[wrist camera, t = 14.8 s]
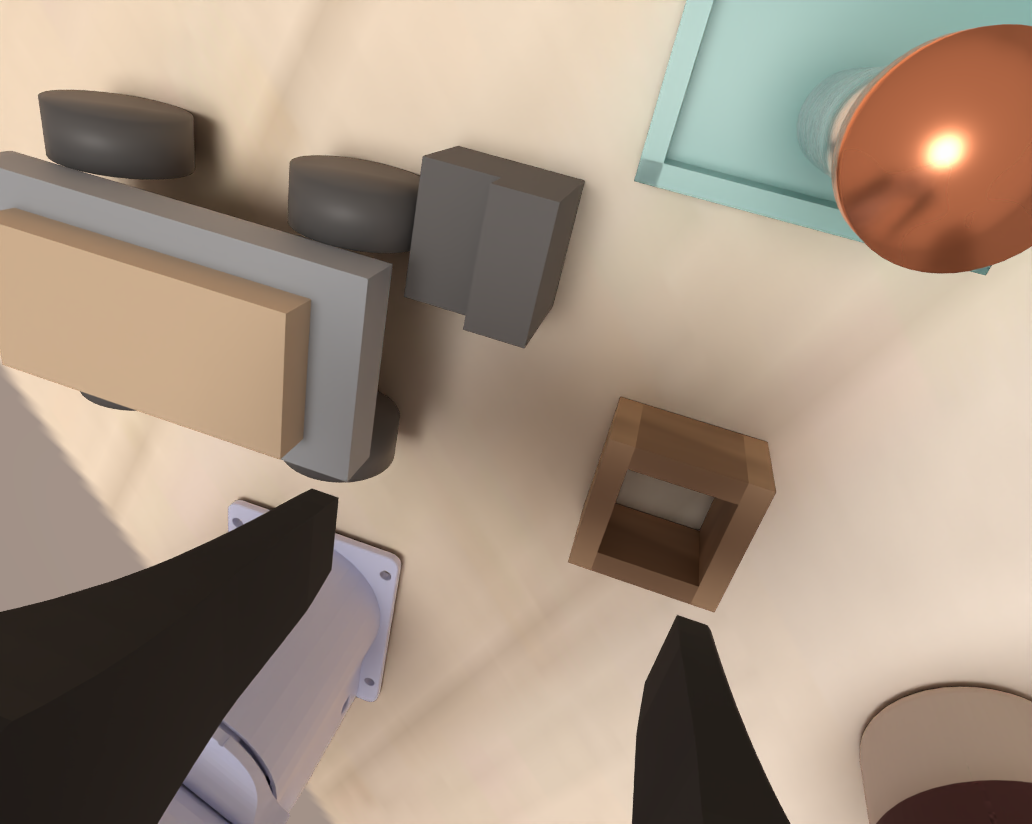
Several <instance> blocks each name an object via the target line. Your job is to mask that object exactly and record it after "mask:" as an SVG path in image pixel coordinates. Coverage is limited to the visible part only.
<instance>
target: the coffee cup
mask: <svg viewBox="0 0 1032 824" xmlns="http://www.w3.org/2000/svg"><path fill="white" fill-rule="evenodd" d="M859 755H860V765H861V772H862V779H863V785H864V792H865V799H866V805H867V812H868V819H869V824H1032V701H1029V700H1027V699H1025V698H1022V697H1019V696H1016V695H1013V694H1010V693H1006V692H1002V691H997V690H993V689H986V688H978V687H943V688H937V689H931V690H925V691H922V692H918V693H915V694H912V695H909V696H907V697H904V698H901V699H899V700H897V701H896V702H894V703H892V704H890V705H889V706H887V707H885V708H884V709H883V710H882V711H881V712H879V713H878V714H877V715H876V716H875V717H874V718H873V719H872V720H871V722H870V723H869V724H868V726H867V727H866V729H865V731H864V734H863V736H862V739H861V744H860V753H859Z"/></svg>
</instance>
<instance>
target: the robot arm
mask: <svg viewBox="0 0 1032 824" xmlns="http://www.w3.org/2000/svg"><path fill="white" fill-rule="evenodd" d="M337 508H338V497H335V496H332V495H329V494H326V493H323V492H320V491H317V490H315V489H310V490H308V491H306V492H304V493H302V494H300V495H298V496H296V497H294V498H293V499H291V500H289V501H287V502H285V503H283V504H281V505H279V506H278V507H276V508H274V509H272V510H268V509H265V508H263V507H260V506H257V505H254V504H251V503H248V502H246V501H243V500H235V501H234V502H233V503H232V504H231V505H230V506H229V508H228V533H226V534H224V535H222V536H220V537H218V538H216V539H213V540H211V541H209V542H207V543H205V544H203V545H200V546H198V547H196V548H194V549H192V550H189V551H187V552H185V553H183V554H181V555H178V556H176V557H174V558H172V559H169V560H167V561H165V562H162V563H160V564H157V565H155V566H152V567H149V568H147V569H144V570H141V571H139V572H136V573H133V574H131V575H128V576H125V577H122V578H120V579H117V580H114V581H111V582H108V583H104V584H101V585H98V586H94V587H91V588H88V589H85V590H82V591H79V592H75V593H72V594H68V595H65V596H61V597H58V598H55V599H51V600H47V601H44V602H40V603H36V604H32V605H28V606H24V607H20V608H16V609H11V610H7V611H3V612H0V824H286V823H287V821H288V819H289V817H290V815H289V813H288V812H289V811H290V810H291V808H292V807H293V806H294V804H295V803H296V801H297V800H298V798H299V796H300V795H301V793H302V791H303V790H304V788H305V786H306V784H307V782H308V781H309V779H310V777H311V775H312V774H313V772H314V770H315V768H316V766H317V765H318V763H319V761H320V759H321V758H322V756H323V754H324V752H325V750H326V749H327V747H328V745H329V743H330V741H331V740H332V738H333V736H334V734H335V733H336V731H337V729H338V727H339V725H340V724H341V722H342V720H343V718H344V717H345V715H346V713H347V711H348V709H349V708H350V706H351V704H352V702H353V701H354V699H355V697H358V698H360V699H363V700H365V701H369V702H372V701H375V700H376V699H377V698H378V696H379V694H380V690H381V684H382V678H383V672H384V666H385V660H386V654H387V648H388V642H389V636H390V630H391V624H392V618H393V612H394V606H395V600H396V594H397V588H398V582H399V576H400V570H401V561H400V559H399V558H398V557H397V556H396V555H394V554H393V553H390V552H387V551H384V550H382V549H379V548H376V547H373V546H370V545H367V544H365V543H362V542H359V541H356V540H353V539H350V538H348V537H345V536H342V535H339V534H336V533H335V529H336V519H337ZM240 520H241V521H240ZM385 571H387V572H389V573H390V574H388V573H386V572H385ZM632 824H790V822H789V820H788V818H787V816H786V815H785V813H784V811H783V809H782V807H781V805H780V803H779V801H778V799H777V797H776V795H775V793H774V791H773V789H772V787H771V785H770V783H769V780H768V778H767V776H766V774H765V772H764V770H763V767H762V765H761V763H760V761H759V759H758V757H757V754H756V752H755V750H754V747H753V745H752V743H751V740H750V738H749V736H748V733H747V731H746V728H745V726H744V723H743V721H742V718H741V716H740V713H739V711H738V708H737V706H736V703H735V700H734V698H733V695H732V692H731V690H730V687H729V684H728V681H727V678H726V676H725V673H724V670H723V667H722V664H721V661H720V658H719V655H718V652H717V649H716V646H715V642H714V639H713V636H712V633H711V630H710V628H709V627H708V625H705V624H702V623H699V622H696V621H693V620H690V619H688V618H685V617H682V616H679V615H677V616H676V618H675V620H674V623H673V625H672V627H671V629H670V631H669V633H668V635H667V637H666V639H665V642H664V644H663V646H662V648H661V650H660V652H659V654H658V656H657V658H656V661H655V663H654V665H653V667H652V669H651V671H650V673H649V675H648V677H647V680H646V682H645V685H644V691H643V697H642V703H641V709H640V715H639V721H638V727H637V735H636V753H635V772H634V793H633V815H632Z"/></svg>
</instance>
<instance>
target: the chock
mask: <svg viewBox="0 0 1032 824" xmlns="http://www.w3.org/2000/svg"><path fill="white" fill-rule="evenodd" d="M584 182H585V180H581V179H577V178H574V177H570V176H566V175H563V174H559V173H555V172H552V171H548V170H544V169H541V168H537V167H533V166H530V165H526V164H522V163H518V162H515V161H511V160H507V159H504V158H500V157H496V156H493V155H489V154H485V153H482V152H478V151H474V150H471V149H467V148H463V147H460V146H457V147H453V148H449V149H446V150H442V151H439V152H435V153H432V154H428V155H425V156H423V159H422V166H421V174H420V181H419V189H418V196H417V203H416V211H415V218H414V226H413V233H412V241H411V248H410V256H409V263H408V271H407V278H406V286H405V293H404V297H407V298H410V299H413V300H416V301H420V302H423V303H426V304H430V305H433V306H436V307H439V308H443V309H446V310H449V311H453V312H456V313H459V314H462V315H466V316H465V322H464V327H463V330H466V331H470V332H473V333H476V334H479V335H483V336H486V337H489V338H492V339H496V340H499V341H502V342H505V343H509V344H512V345H515V346H518V347H522V348H525V347H526V345H527V344H528V342H529V341H530V339H531V338H532V336H533V335H534V333H535V332H536V330H537V329H538V327H539V326H540V324H541V323H542V321H543V320H544V318H545V317H546V315H547V314H548V312H549V311H550V309H551V308H552V306H553V303H554V299H555V295H556V291H557V287H558V283H559V280H560V276H561V272H562V268H563V264H564V260H565V256H566V252H567V248H568V244H569V240H570V237H571V233H572V229H573V225H574V221H575V217H576V213H577V209H578V205H579V201H580V198H581V194H582V190H583V186H584Z"/></svg>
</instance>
